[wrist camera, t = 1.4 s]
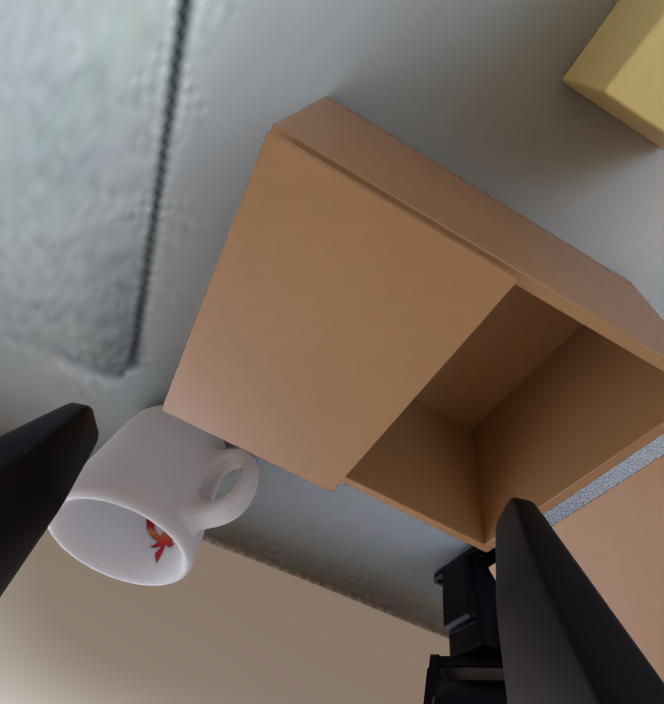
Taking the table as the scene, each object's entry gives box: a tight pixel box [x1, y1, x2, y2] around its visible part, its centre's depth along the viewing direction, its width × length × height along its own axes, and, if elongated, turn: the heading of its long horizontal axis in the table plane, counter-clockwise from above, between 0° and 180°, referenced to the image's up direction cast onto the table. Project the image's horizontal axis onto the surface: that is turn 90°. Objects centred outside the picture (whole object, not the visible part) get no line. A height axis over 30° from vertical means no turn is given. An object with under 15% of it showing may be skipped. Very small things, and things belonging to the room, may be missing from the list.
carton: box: [162, 96, 664, 552], centre depth 18 cm, size 15×11×8 cm
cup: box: [48, 405, 259, 586], centre depth 26 cm, size 11×8×8 cm
